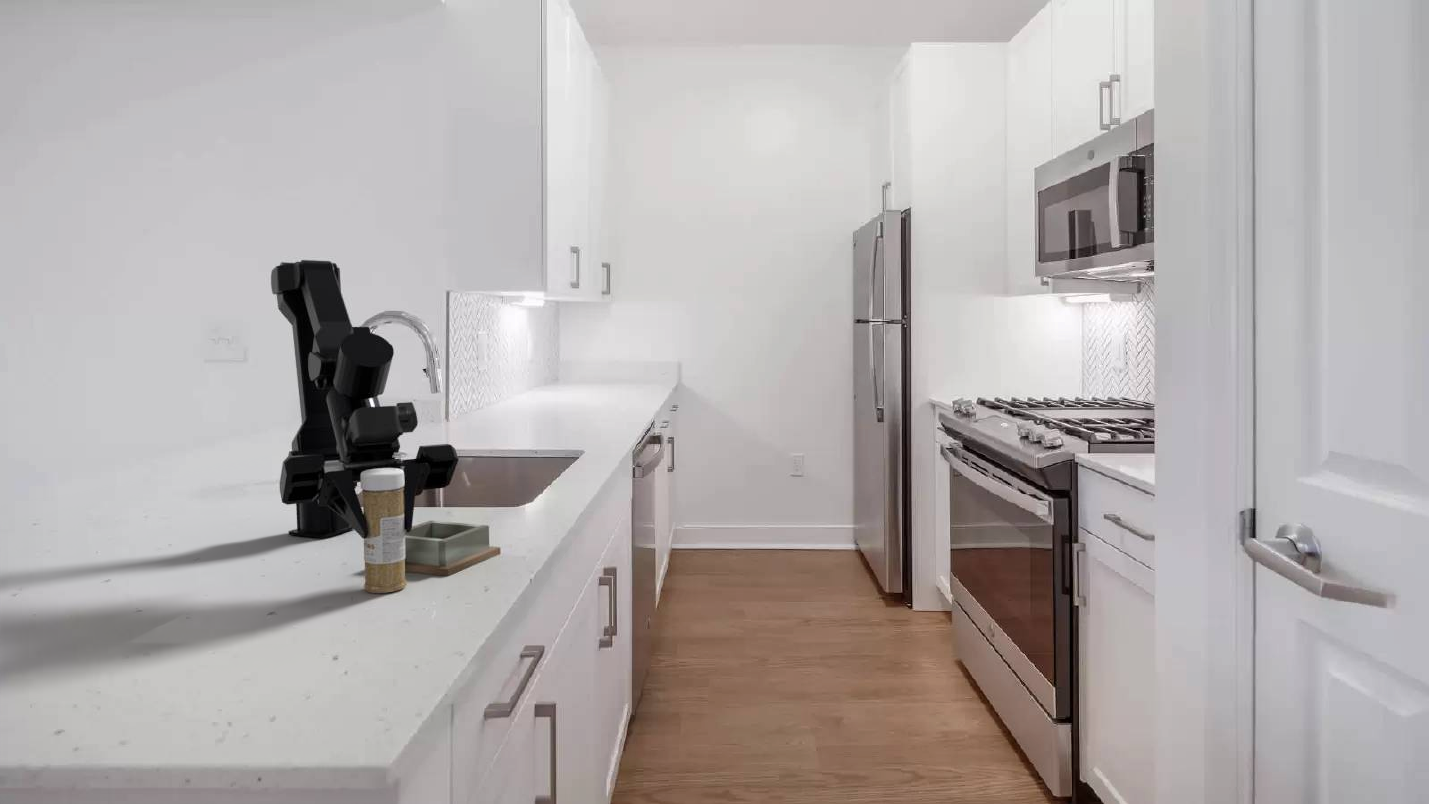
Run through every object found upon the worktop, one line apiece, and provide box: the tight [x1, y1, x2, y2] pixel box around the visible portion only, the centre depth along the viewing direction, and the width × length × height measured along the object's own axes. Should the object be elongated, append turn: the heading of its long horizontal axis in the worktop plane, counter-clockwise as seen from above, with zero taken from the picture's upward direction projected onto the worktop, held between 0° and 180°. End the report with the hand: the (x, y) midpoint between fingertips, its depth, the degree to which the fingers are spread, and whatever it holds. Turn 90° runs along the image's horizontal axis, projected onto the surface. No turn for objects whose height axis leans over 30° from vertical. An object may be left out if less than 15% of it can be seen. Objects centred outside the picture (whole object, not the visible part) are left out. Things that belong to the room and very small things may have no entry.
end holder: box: [405, 520, 501, 577], centre depth 109 cm, size 11×11×4 cm
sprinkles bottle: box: [360, 468, 408, 594], centre depth 97 cm, size 5×5×13 cm
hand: (387, 533), depth 96 cm, fingers closed on sprinkles bottle, 4 cm apart
